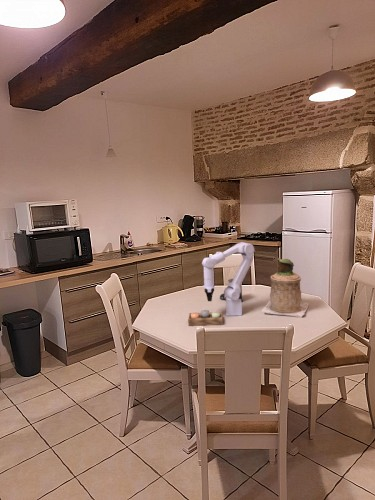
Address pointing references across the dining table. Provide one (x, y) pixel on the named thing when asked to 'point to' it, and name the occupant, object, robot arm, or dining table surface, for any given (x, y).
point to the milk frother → (240, 292)
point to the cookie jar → (285, 292)
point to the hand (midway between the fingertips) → (209, 301)
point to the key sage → (215, 314)
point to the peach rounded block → (194, 315)
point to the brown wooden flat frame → (205, 320)
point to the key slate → (205, 314)
